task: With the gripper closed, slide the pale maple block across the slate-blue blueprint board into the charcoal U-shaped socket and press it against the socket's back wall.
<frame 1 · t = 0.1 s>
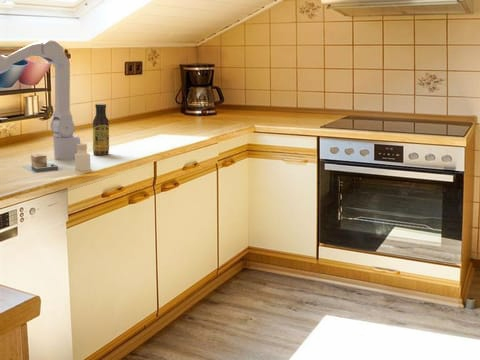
maple block: (39, 166, 219), point 1 cm above the worktop, touching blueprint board
pepper shaker: (83, 172, 215), on the worktop
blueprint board: (42, 170, 217), on the worktop
sauce bottle: (101, 154, 247), on the worktop
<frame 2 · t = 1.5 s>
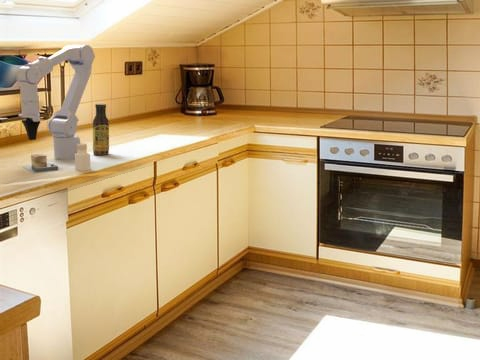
hand: (32, 139, 222), 9 cm above the worktop, tool pointing down, fingers closed
nothing on the worktop moved.
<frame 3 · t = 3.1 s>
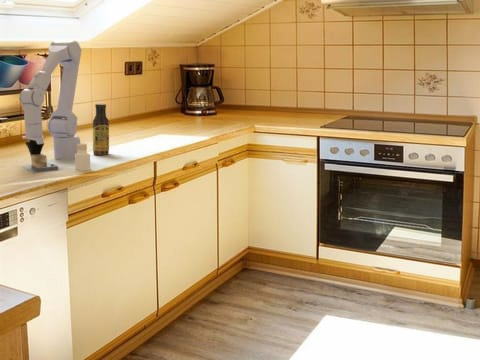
hand: (35, 161, 221), 2 cm above the worktop, tool pointing down, fingers closed
maple block: (39, 166, 219), point 1 cm above the worktop, touching gripper
everything else where it was.
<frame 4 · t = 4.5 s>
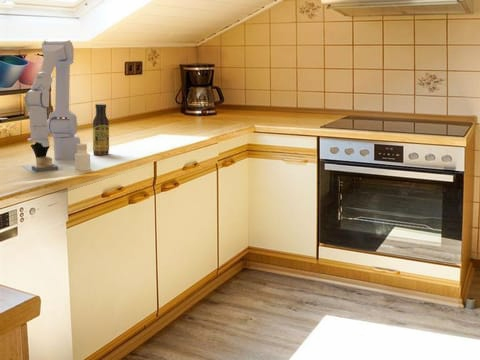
hand: (41, 164, 216), 2 cm above the worktop, tool pointing down, fingers closed
maple block: (44, 169, 214), point 1 cm above the worktop, touching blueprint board, gripper
everything else where it was.
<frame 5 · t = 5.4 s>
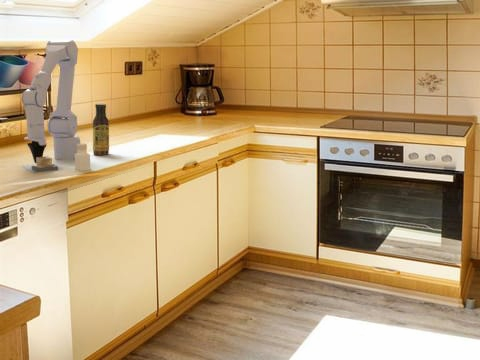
hand: (38, 162, 220), 2 cm above the worktop, tool pointing down, fingers closed
maple block: (44, 169, 214), point 1 cm above the worktop, touching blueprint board
everything else where it was.
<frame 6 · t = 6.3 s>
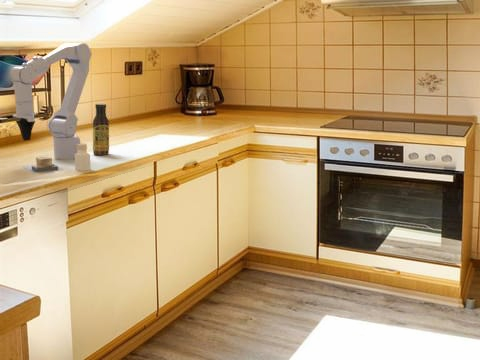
hand: (26, 140, 221), 9 cm above the worktop, tool pointing down, fingers closed
nothing on the worktop moved.
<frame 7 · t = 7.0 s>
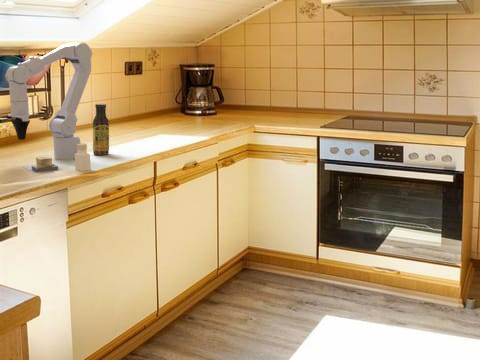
hand: (21, 139, 222), 9 cm above the worktop, tool pointing down, fingers closed
nothing on the worktop moved.
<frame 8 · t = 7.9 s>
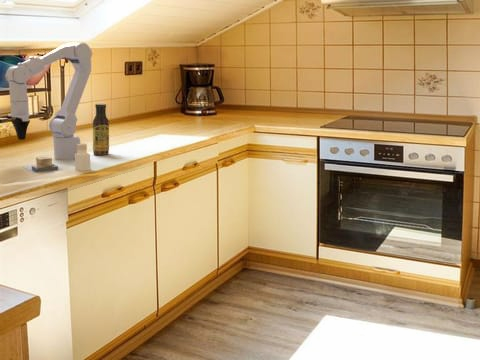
hand: (21, 139, 222), 9 cm above the worktop, tool pointing down, fingers closed
nothing on the worktop moved.
at the end: maple block 0.1 cm from the target spot on the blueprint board, point 0.8 cm above the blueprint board's base; maple block tilted 0° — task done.
